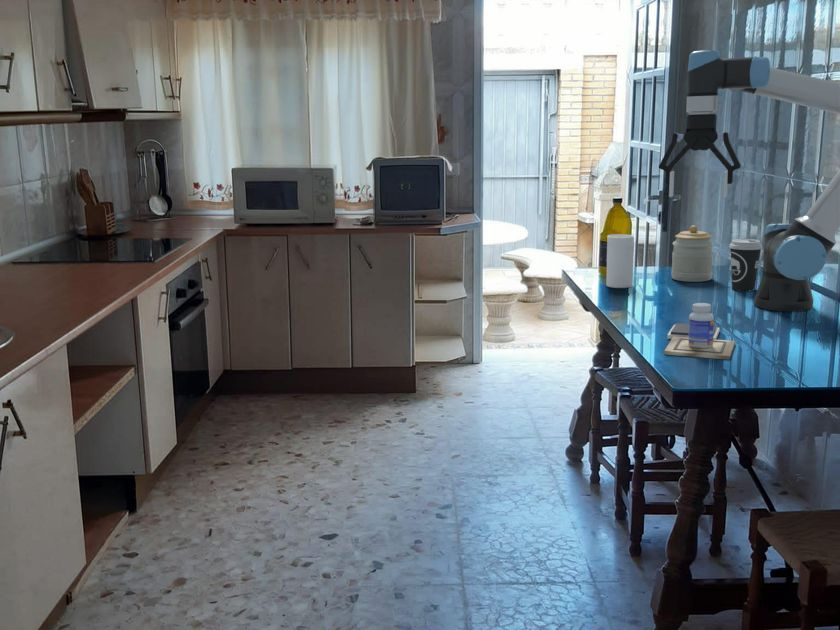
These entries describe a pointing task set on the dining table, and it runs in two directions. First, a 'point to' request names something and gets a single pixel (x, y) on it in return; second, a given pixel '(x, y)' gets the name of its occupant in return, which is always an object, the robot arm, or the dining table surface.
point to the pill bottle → (701, 326)
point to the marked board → (700, 349)
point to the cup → (620, 260)
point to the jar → (692, 256)
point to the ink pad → (686, 331)
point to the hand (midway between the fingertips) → (697, 196)
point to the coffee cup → (744, 263)
